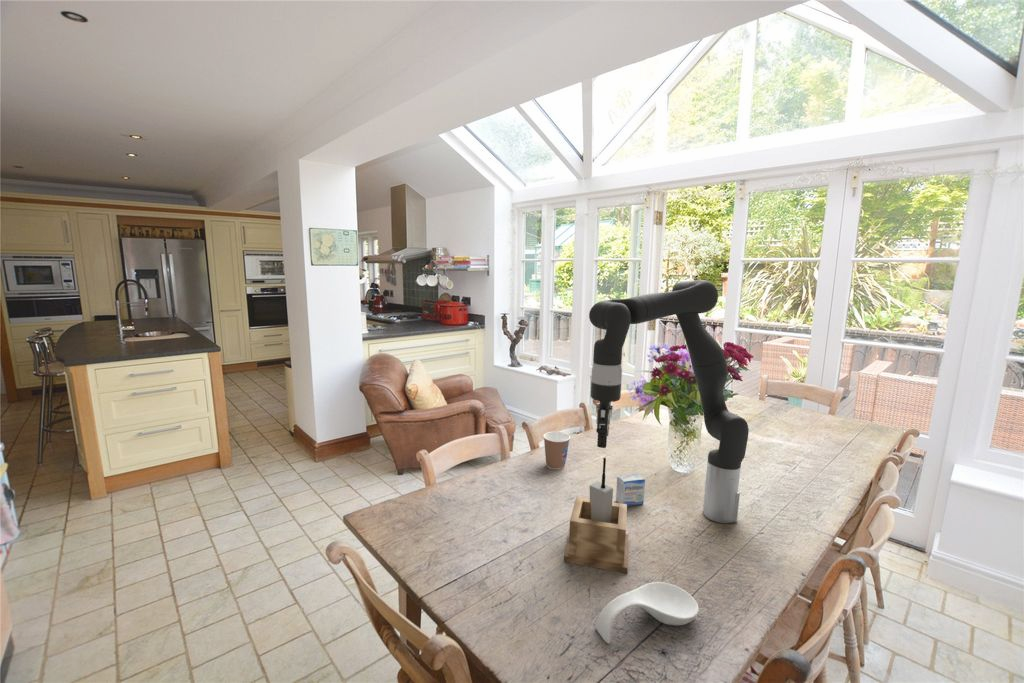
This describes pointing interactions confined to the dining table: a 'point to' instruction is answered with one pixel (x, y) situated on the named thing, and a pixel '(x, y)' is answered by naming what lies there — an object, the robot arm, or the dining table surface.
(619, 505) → the socket block
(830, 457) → the dining table surface
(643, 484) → the medicine box
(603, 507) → the vintage mobile phone
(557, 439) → the coffee cup
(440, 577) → the dining table surface
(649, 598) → the spoon rest
